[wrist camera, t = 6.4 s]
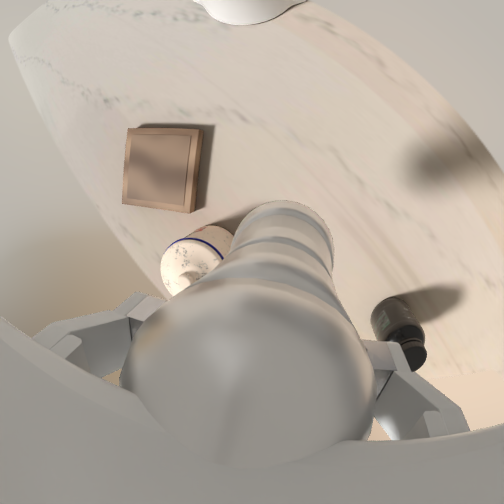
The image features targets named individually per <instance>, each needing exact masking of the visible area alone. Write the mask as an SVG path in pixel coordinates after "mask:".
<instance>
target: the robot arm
mask: <svg viewBox="0 0 504 504" xmlns="http://www.w3.org/2000/svg"><path fill="white" fill-rule="evenodd" d="M193 1H194V2H196V3H198V4H201V5H202V6H203V7H204V8H205V9H206V11H207V12H208V14H209V15H210V16H212V17H213V18H214V19H216V20H218V21H221V22H224V23H227V24H233V25H250V24H257V23H261V22H265V21H267V20H270V19H272V18H275V17H276V16H278V15H280V14H281V13H283V12H284V11H285V10H286V9H288V8H289V7H290V6H292V5H295V4H298V3H301V2H304V1H306V0H193ZM167 301H168V300H165V299H162V298H158V297H155V296H152V295H148V294H145V293H141V292H135V293H134V294H132V295H131V296H130V297H129V298H128V299H126V300H125V301H124V302H123V303H122V304H121V305H119V306H118V307H117V308H116V309H115V310H113V311H110V310H107V311H103V312H99V313H94V314H90V315H85V316H81V317H76V318H72V319H67V320H63V321H58V322H53V323H51V324H49V325H48V326H47V327H46V328H44V329H43V330H42V331H40V332H39V333H38V334H36V335H35V336H34V337H33V338H30V337H28V336H27V335H26V334H24V333H23V332H21V331H20V330H19V329H17V328H16V327H14V326H13V325H11V324H10V323H9V322H8V321H6V320H5V319H4V318H2V317H1V316H0V504H504V423H503V424H499V425H495V426H492V427H487V428H483V429H479V430H474V431H470V429H469V426H468V424H467V422H466V419H465V417H464V415H463V412H462V410H461V408H460V407H459V406H458V405H456V404H455V403H454V402H453V401H451V400H450V399H449V398H447V397H446V396H445V395H444V394H442V393H441V392H440V391H439V390H437V389H436V388H435V387H434V386H432V385H431V384H430V383H429V382H427V381H426V380H425V379H423V378H422V377H421V376H420V375H418V374H417V373H416V372H411V370H410V367H409V365H408V362H407V360H406V358H405V355H404V353H403V351H402V348H401V346H400V344H399V343H397V342H382V341H372V340H362V339H361V340H362V342H363V344H364V346H365V348H366V351H367V354H368V357H369V359H370V362H371V364H372V367H373V371H374V375H375V379H376V383H377V397H376V406H375V412H374V417H375V418H376V420H377V421H378V423H379V424H380V425H381V427H382V428H383V429H384V430H385V432H386V433H387V434H388V436H389V437H390V438H391V439H392V440H390V441H389V440H388V441H354V440H346V441H342V442H339V443H337V444H335V445H333V446H331V447H330V448H328V449H326V450H323V451H321V452H318V453H316V454H313V455H310V456H308V457H305V458H302V459H299V460H296V461H291V462H285V463H282V464H278V465H274V466H271V467H267V468H240V469H238V468H233V467H228V466H224V465H220V464H216V463H212V462H210V461H208V460H206V459H204V458H202V457H200V456H198V455H197V454H195V453H193V452H191V451H189V450H188V449H187V448H186V447H184V446H183V445H182V444H181V443H180V442H179V441H178V440H177V439H175V438H174V437H173V436H172V435H171V434H169V433H168V432H167V431H166V430H165V429H164V428H163V427H162V426H161V425H160V424H159V423H158V422H157V421H156V420H155V419H154V418H153V416H152V415H151V414H150V413H149V412H148V411H147V410H146V408H145V407H144V405H143V403H142V402H141V400H140V399H139V398H138V397H137V395H135V394H134V393H133V392H131V391H128V390H126V389H124V388H121V387H119V386H117V385H114V384H112V383H110V382H108V381H106V380H104V379H102V377H104V376H106V375H108V374H110V373H113V372H114V371H117V370H119V369H121V368H123V365H124V362H125V359H126V356H127V353H128V351H129V348H130V345H131V342H132V340H133V337H134V334H135V333H136V332H137V330H138V329H139V328H140V326H141V325H142V324H143V322H144V321H145V320H146V319H147V318H148V317H149V316H150V315H152V314H153V313H154V312H155V311H156V310H157V309H158V308H160V307H161V306H162V305H163V304H164V303H165V302H167Z"/></svg>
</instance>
